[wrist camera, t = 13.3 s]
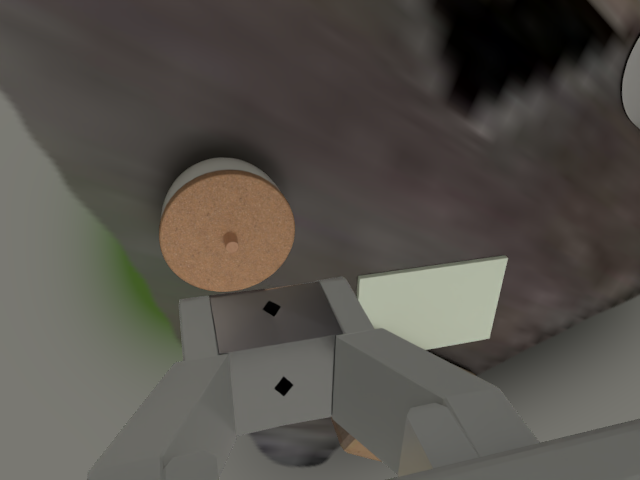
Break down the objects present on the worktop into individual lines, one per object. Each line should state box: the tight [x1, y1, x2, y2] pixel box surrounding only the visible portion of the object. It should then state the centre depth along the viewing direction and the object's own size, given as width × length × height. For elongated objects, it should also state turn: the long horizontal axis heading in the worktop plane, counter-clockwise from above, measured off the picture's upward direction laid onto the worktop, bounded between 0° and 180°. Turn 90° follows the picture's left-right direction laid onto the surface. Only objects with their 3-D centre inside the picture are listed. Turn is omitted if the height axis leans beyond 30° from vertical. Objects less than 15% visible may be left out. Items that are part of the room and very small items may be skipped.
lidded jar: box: [159, 157, 295, 292], centre depth 45 cm, size 11×11×9 cm
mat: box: [357, 255, 508, 350], centre depth 62 cm, size 18×12×1 cm, turn 89°
